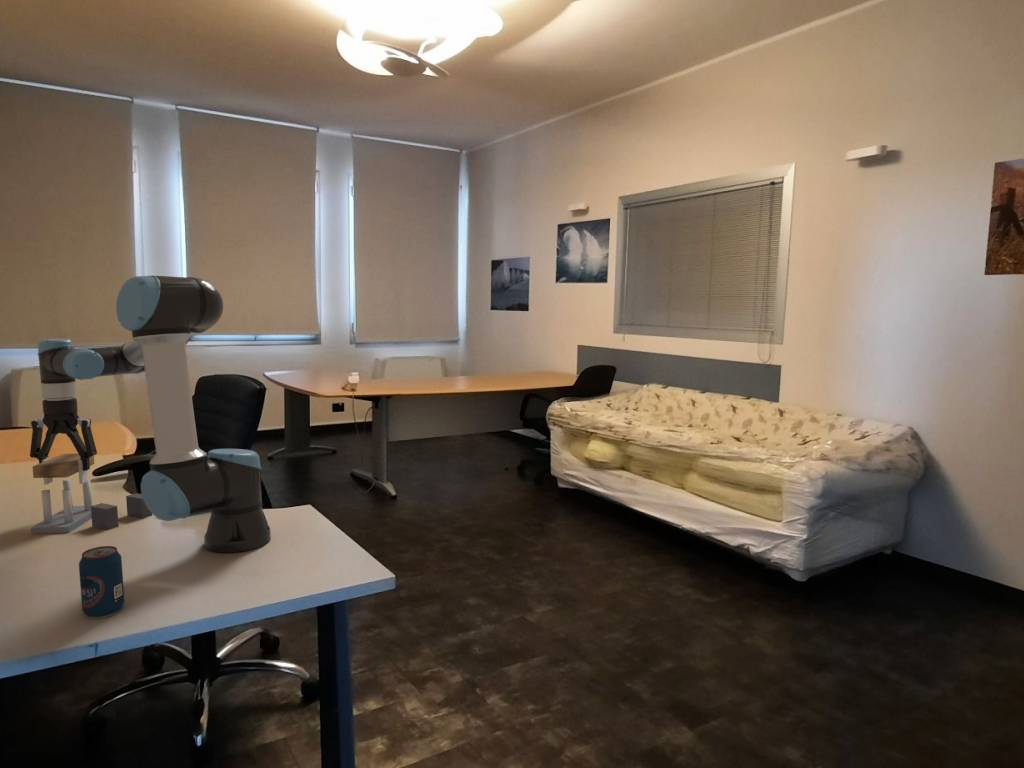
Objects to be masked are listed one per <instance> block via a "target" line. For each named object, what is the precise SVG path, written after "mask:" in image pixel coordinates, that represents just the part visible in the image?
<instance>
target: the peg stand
mask: <svg viewBox="0 0 1024 768" xmlns="http://www.w3.org/2000/svg"><path fill="white" fill-rule="evenodd" d="M87 479H88V481H87V482H85V483H83V484H82V493H83V495H82V496H83V505H73V496H72V495H73V493H72V480H71V479H64V480H62V491H61V492H62V495H61V496H62V505H63V509H62V510H60V511H58V512H57V513H55V514H53V512H52V500H51V490H50V489H44V490H41V492H40V493H41V502H42V504H41V505H42V514H43V520H42V521H41V522H39V523H37V524H35V525H33V526H31V528H30V532H31V533H30V534H32V535H33V534H35V535H36V534H64V533H66V534H67V533H71V532H72V531H74V530H75V529H77V528H79V527H80V526H82V525H83V524H85V523H87V522H88V521H89V520H92V516H91V506H93V503H92V489H91V488H92V486H91V478H87Z"/></svg>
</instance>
